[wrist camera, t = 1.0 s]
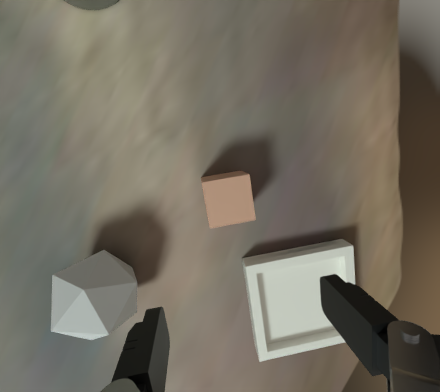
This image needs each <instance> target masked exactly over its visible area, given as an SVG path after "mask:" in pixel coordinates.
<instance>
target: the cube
mask: <svg viewBox="0 0 440 392" xmlns="http://www.w3.org/2000/svg"><path fill="white" fill-rule="evenodd" d="M201 181H202V187H203V193H204V198H205V204H206V210H207V215H208V220H209V226H210V228H215V227H220V226H226V225H231V224H237V223H242V222H247V221H253V220H256V218H255V211H254V204H253V196H252V189H251V181H250V174H248V173H246V172H243V171H241V170H240V171H234V172H229V173H223V174H217V175H211V176H205V177H201Z"/></svg>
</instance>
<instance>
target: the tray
mask: <svg viewBox="0 0 440 392" xmlns="http://www.w3.org/2000/svg"><path fill="white" fill-rule="evenodd" d="M242 262H243V269H244V276H245V282H246V289H247V296H248V302H249V309H250V316H251V322H252V329H253V336H254V342H255V348H256V351H257V355H258V358H259V361H264V360H269V359H273V358H278V357H282V356H286V355H291V354H295V353H300V352H304V351H308V350H313V349H317V348H322V347H326V346H330V345H335V344H339V343H344V342H345V341H344V339H343V338H342V337H341V335H340V334H339V333H338V332H337V330H336V329H335V328H334V326H333V325H332V324H331V323H330V321H329V320H328V319H327V317H326V316H325V314H324V312H323V310H322V306H321V295H320V277H322V276H327V275H332V274H337V275H338V276H339V277H340V278H341V279H342V280H344V281H345V282H346V283H347V282H350V283H352V284H354V285H355V269H354V249H353V245H352V244H350V243H348V242H347V241H345V240H344V239H338V240H333V241H328V242H322V243H317V244H312V245H307V246H302V247H297V248H292V249H287V250H281V251H276V252H271V253H266V254H261V255H256V256H251V257H246V258H242Z"/></svg>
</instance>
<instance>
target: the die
mask: <svg viewBox="0 0 440 392" xmlns="http://www.w3.org/2000/svg"><path fill="white" fill-rule="evenodd" d="M136 312H137V280H136V277H135V274H134V271H133V268H132V267H131V266H129V265H128V264H126V263H125V262H123V261H121V260H120V259H118V258H117V257H115V256H113V255H112V254H110V253H109V252H107V251H105V250H102V251H100V252H98V253H96V254H94V255H92V256H90V257H88V258H86V259H84V260H82V261H80V262H78V263H76V264H74V265H72V266H70V267H68V268H66V269H64V270H61V271H59V272H57V273H55V274H53V277H52V314H51V331H52V332H57V333H61V334H66V335H71V336H75V337H80V338H84V339H89V340H93V339H96V338H99V337H103V336H106V335H109V334H110V333H112V332H113V331H114V330H115V329H117V328H118V327H119V326H120V325H121V324H123V323H124V322H125V321H126V320H128V319H129V318H130V317H131V316H132V315H134V314H135V313H136Z"/></svg>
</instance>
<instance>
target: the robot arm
mask: <svg viewBox="0 0 440 392" xmlns="http://www.w3.org/2000/svg"><path fill="white" fill-rule="evenodd" d="M64 1H66V2H67V3H69V4H71V5H73V6H75V7H78V8H82V9H86V10H100V9H104V8H108V7H109V6H111V5H113V4H115V3H116V2H118V1H119V0H64ZM320 295H321V306H322V310H323V312H324V314H325V316H326V317H327V319H328V320H329V321H330V323H331V324H332V325H333V326H334V328H335V329H336V330H337V332H338V333H339V334H340V335H341V337H342V338H343V339H344V341H345V342H346V343H347V344H348V346H349V347H350V348H351V350H352V351H353V352H354V353H355V355H356V356H357V357H358V359H359V360H360V361H361V362H362V364H363V365H364V366H365V368H366V369H367V370H368V371H369V373H370V374H371V375H372V376H375V375H380V374H384V376H385V377H386V378H387V392H440V335H433V334H430V333H429V332H428V331H427V330H426V329H424V328H423V327H421V326H419V325H417V324H414V323H411V322H408V321H399V320H398V319H397V318H396V317H395V316H394V315H392V314H391V313H390V312H389V311H388V310H386V309H385V308H384V307H383V306H382V305H381V304H379V303H378V302H377V301H375V299H373V298H372V297H371V296H370V295H368V293H366V292H365V291H364V290H363V289H362V288H360V287H359V286H357V285H354V284H352V283H350V282H347V283H346V282H345V281H344V280H342V279H341V278H340V277H339V276H338V275H337V274H332V275H327V276H322V277H320ZM169 348H170V341H169V332H168V328H167V323H166V319H165V314H164V310H163V307H158V308H152V309H147V310H146V312H145V316H144V319H143V322H139V323H136V324H135V325H134V326H133V327H132V329H131V330H130V331H129V332H128V335H127V338H126V341H125V344H124V347H123V351H122V353H121V356H120V358H119V361H118V364H117V367H116V370H115V373H114V376H113V379H112V382H111V383H110V384H109V385H107V386H106V387H105V388H104V389H103V390H102V391H101V392H164V391H165V382H166V374H167V365H168V357H169Z"/></svg>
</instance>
